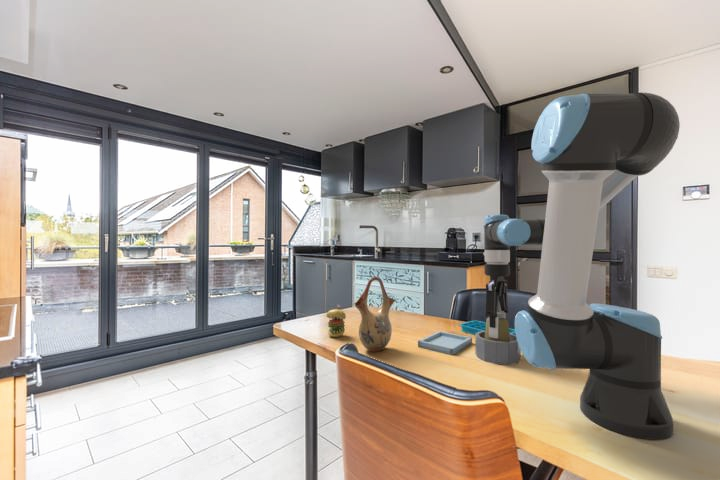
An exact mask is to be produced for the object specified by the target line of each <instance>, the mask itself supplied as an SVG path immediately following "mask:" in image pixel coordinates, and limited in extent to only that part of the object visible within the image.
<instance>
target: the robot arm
mask: <svg viewBox="0 0 720 480" xmlns="http://www.w3.org/2000/svg"><path fill="white" fill-rule="evenodd" d="M680 123H681V122H680V117H679V114H678V112H677V110H676V107H674V105H673V104H672V103H671V102H670V101H669V100H668V99H666V98H664V97H663V96H661V95H658V94H654V93H650V92H632V93H631V92H630V93H629V92H626V93H622V92H621V93H579V94H572V95H563V96H560V97H557V98H555V99H554V100H552V101H551V102H549V104H548V105H547V106H546V107H545V108H544V109H543V111H542V113H541V114H540V115H539V116H538V120H537V121H536V124H535V127H534V129H533V133H532V137H531V144H530V145H531V146H530V147H531V148H530V150H531V151H532V153H531V154H532V157H533V159H534V161H536V162H538V163H540V164H542V165H541V173H542V174H543V175H544V176H545V178H547V180H548V181H549V183H548V191H547V199H546V209H545V218H535V219H533V218H532V219H530V218H529V219H528V218H527V219H526V218H525V219H522V218H510V217H509V215H507V214H490V215H486V216H485V217H484V221H483V222H484V225H483V232H484V233H483V234H484V237H483V239H484V252H483V253H482V254H483V256H484V262H485V264H483V265H484V275H485V276H489V281H488V283H485V290H486V291H485V293H486V294H485V295H486V296H485V298H486V299H485V313H484V315H485V316H484V317H487V318H488V317H489V337H491V338H497V339H498V317H497V311H498V302H500V307H501V311H503V312H505V314H506V313H507V314H508V313H509V306H508V305H509V304H508V280H507V279H505V277H509V276H510V275H511V266H510V264H509V263H511V262H510V261H511V250H510V249H511V247H517V246H542V247H541V254H540V264H539V271H538V282H537V291H536V294H535V295H533V296H531V297H530V298H529V299H528V301H527V309H526V310H525V309H524V310H519V311H518V312H517V313H516V315H515V317H514V329H515V333H516V338H517V341H518V344H519V347H520V350H521V355H522V356H523V357H524V359H525V360H526V361H527V362H528V363H529V364H530V365H531V366H532V367H535V368H538V369H539V368H540V369H550V370H556V369H557V370H558V369H560V370H562V369H563V370H564V369H565V370H589V372H588V373H589V374H588V377H587V380H586V382H585V384H584V386H583V389H582V392H581V394H580V397H579V409H580V411H581V413H582V414H583V415H584V416H585V417H586V418H587V419H589V420H590V421H592V422H594V423H595V424H597V425H599V426H601V427H604V428H606V429H608V430H609V431H614V432H616V433H618V434H622V435H625V436H629V437H632V438H633V437H634V438H639V439H643V440H644V439H646V440H665V439H668V438H671V437H672V436H673V435H674V419H673V416H672V413H671V411H670V408H669V406H668V404H667V402H666V399H665V396H664V393H663V390H662V382H661V381H662V363H661V362H662V339H663V335H662V334H661V332H662V330H661V322H660V320H659V319H658V318H657V316H655V315H653V314H652V313H648V312H645V311H642V310H639V309H638V310H637V309H633V308H628V307H624V306H623V307H622V306H618V305H611V304H607V303H605V304H603V303H596V302H595V303H590V304H588V303H587V295H588V288H589V281H590V277H591V268H592V263H593V262H592V261H593V254H594V247H595V240H596V234H597V233H596V232H597V226H598V218H599V214H600V210H601V209H603V208H604V207H605V206H606V205H607V204H608V203H609V202H610V201H611V200H612V199H613V198H614V197H616V195H618V194H619V193H620V192H621V191H623V189H625V187H627V186H628V185H629V184H631V182H632V181H634V179H635V178H636V177H640V176H644V175H646V174H649V173H650V172H652V171H653V170H654V169H655V168H657V166H658V165H659V164H660V163H662V161H664V159H666V157H667V156H668V155H669V154H670V152H671V151H672V149H673V148H674V146H675V144H676V142H677V139H679V133H680V127H681V126H680Z"/></svg>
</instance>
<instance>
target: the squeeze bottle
mask: <svg viewBox="0 0 720 480" xmlns="http://www.w3.org/2000/svg"><path fill="white" fill-rule="evenodd" d="M497 317H498V339H497V338H491V337H489V317H488V316H487V318H486V322H485V323H486V330H485V339H487V340H492V341H499V342H509V341H510V333H509V328H510V327H509V326H510V325H509V320H508V319H507V318H506V313H505V312H503V311H501V307H500V302H498V311H497Z"/></svg>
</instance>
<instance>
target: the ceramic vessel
mask: <svg viewBox="0 0 720 480" xmlns="http://www.w3.org/2000/svg"><path fill="white" fill-rule="evenodd" d="M374 281H377V282H378V284H379V285H380V288H381V289H380V290H381V295H382V304H381V306H380V308H379V309H378V310H377V311H375V312H372V311H370V309H369V307H368V297H369V296H368V295H369V292H370V287H371V285H372V282H374ZM395 302H396V299H394V298H391V297H389V296H388V294H387V292H386V289H385V285H384V283H383V280H382V279H381V278H380V277H377V276H374V277H371V278H369V280H368V282H367V284H366V286H365V289H364V291H363V293H362V294H361V296H360V297H359V298H358V300H357V301H355V302H353V303H354V304H353V306H354V307H355V308H356V309H357V310H358V311H359V313H360V314H361V322H360V324H359V327H358V329H359V330H358V336H359V337H358V338H359V340H360V343H361V345H362V346H363V348H365V349H366V350H367V351H369V352H381V351H382V350H384V349H385V348H386V347H387V345H388V344H389V343H390V341H391V337H392V334H393V332H392V331H393V328H392V323H391V320H390V317H389V316H390V315H389V314H390V309H391V308H392V306H393V305H394V304H395Z"/></svg>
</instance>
